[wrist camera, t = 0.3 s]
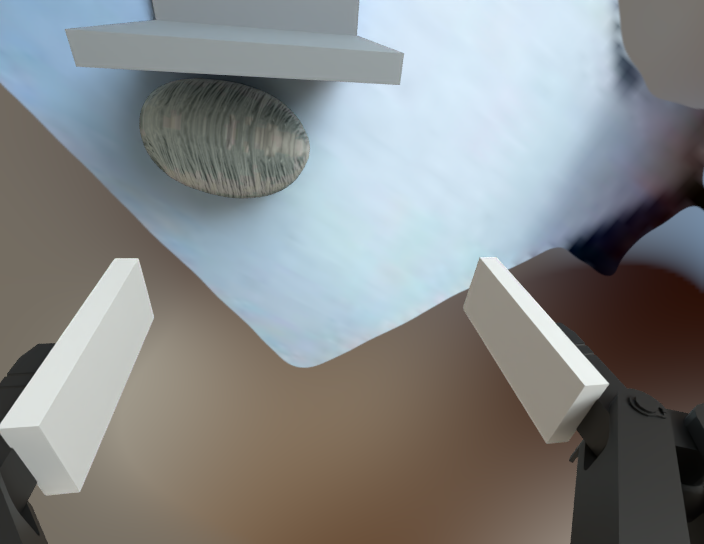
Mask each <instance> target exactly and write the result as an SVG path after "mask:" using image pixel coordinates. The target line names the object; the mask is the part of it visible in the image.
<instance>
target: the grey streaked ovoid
mask: <svg viewBox="0 0 704 544" xmlns="http://www.w3.org/2000/svg"><path fill="white" fill-rule="evenodd" d="M140 134H141V137H142V140H143V143H144V146H145V148H146V150H147V152H148V154H149V155H150V157H151V159H152V160H153V161H154V163H155V164H156V165H157V166H158V167H159V168H160V169H161V170H163V171H164V172H165V173H166V174H167V175H168V176H170V177H171V178H173V179H175V180H176V181H178V182H180V183H182V184H184V185H186V186H189V187H191V188H194V189H197V190H201V191H203V192H206V193H210V194H214V195H219V196H224V197H231V198H253V197H262V196H267V195H271V194H274V193H276V192H278V191H281V190H283V189H285V188H286V187H288V186H289V185H290V184H292V183H293V182H294V181H295V180H296V179H297V177H298V176H299V175H300V173H301V172H302V170H303V169H304V167H305V165H306V162H307V160H308V158H309V151H310V145H309V140H308V136H307V134H306V132H305V130H304V128H303V126H302V124H301V122H300V121H299V119H298V118H297V117H296V115H295V114H294V113H293V112H292V111H291V110H290V109H289V108H288V107H287V106H286V105H285V104H283V103H282V102H281V101H280V100H278V99H276V98H275V97H273V96H271V95H270V94H268V93H266V92H264V91H261V90H259V89H256V88H253V87H250V86H247V85H244V84H240V83H236V82H230V81H224V80H215V79H204V78H194V79H180V80H175V81H172V82H169V83H167V84H164V85H162V86H160V87H158V88H157V89H156V90H154V91H153V92H152V93H151V94H150V95H149V96H148V98H147V99H146V101H145V103H144V105H143V107H142V110H141V113H140Z"/></svg>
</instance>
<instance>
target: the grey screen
mask: <svg viewBox="0 0 704 544" xmlns="http://www.w3.org/2000/svg"><path fill="white" fill-rule="evenodd" d="M152 2H153V7H154V13H155V18H156V20H149V21H139V22H130V23H120V24H110V25H100V26H90V27H80V28H70V29H65V31H66V35H67V38H68V41H69V44H70V48H71V51H72V54H73V57H74V61H75V64H76V67H94V68H111V69H129V70H147V71H164V72H182V73H199V74H217V75H234V76H252V77H270V78H287V79H305V80H322V81H340V82H357V83H375V84H393V85H400V80H401V72H402V64H403V57H404V53H402V52H399V51H396V50H394V49H391V48H388V47H386V46H383V45H380V44H378V43H375V42H373V41H370V40H367V39H365V38H362V37H359V36H357V26H358V11H359V0H152Z"/></svg>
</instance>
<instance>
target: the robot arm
mask: <svg viewBox="0 0 704 544" xmlns="http://www.w3.org/2000/svg"><path fill="white" fill-rule="evenodd" d="M463 310H464V311H465V313H466V314H467V316H468V318H469V319H470V321H471V322H472V324H473V326H474V327H475V329H476V331H477V332H478V334H479V335H480V337H481V339H482V340H483V342H484V343H485V345H486V347H487V348H488V350H489V351H490V353H491V355H492V356H493V358H494V359H495V361H496V363H497V364H498V366H499V368H500V369H501V371H502V373H503V374H504V376H505V377H506V379H507V381H508V382H509V384H510V385H511V387H512V389H513V390H514V392H515V394H516V395H517V397H518V398H519V400H520V401H521V403H522V405H523V406H524V408H525V410H526V411H527V413H528V415H529V416H530V418H531V419H532V421H533V423H534V424H535V426H536V427H537V429H538V431H539V432H540V434H541V435H542V437H543V439H544V440H545V442H546V443H547V444H550V443H559V442H568V441H569V440H570V438H571V437H572V435H573V434H574V433H575V431H576V430H577V431H578V432H579V433H580V435H581V436H582V438H583V440H582V442H581V443H580V445H579V446H578V447H577V448H576V450H575V451H574V453H573V454H572V455H571V457H570V459H569V461H570V462H574V460H575V459H576V458H577V457H578V465H577V476H576V487H575V498H574V510H573V521H572V532H571V543H570V544H704V403H703V404H699V405H697V406H696V407H695V408H694V409H693V410H692V411H691V412H690V413H689V414H688V413H684V412H679V411H674V410H669V409H665V408H664V406H663V405H662V404H661V403H659V402H658V401H657V400H656V399H654V398H653V397H651V396H650V395H648V394H646V393H644V392H642V391H638V390H635V389H627V388H626V387H625V386H624V385H623V384H622V383H621V382H620V381H619V380H618V378H617V377H616V376H615V375H614V374H613V373H612V372H611V371H610V370H609V369H608V368H607V367H606V366H605V365H604V364H603V362H602V361H601V360H600V359H599V358H598V357H597V356H596V355H594V354H593V352H592V350H591V349H590V348H589V347H588V346H585V343H584V342H583V341H582V340H581V339H580V338H579V337H578V335H577V334H576V333H575V332H573V331H572V330H571V329H569V328H568V327H566V326H565V325H563V324H562V323H555V322H554V321H553V320H552V319H551V318H550V317H549V316H548V315H547V313H546V312H545V311H544V310H543V309H542V308H541V307H540V306H539V304H538V303H537V302H536V301H535V300H534V299H533V298H532V297H531V296H530V294H529V293H528V292H527V291H526V290H525V289H524V288H523V287H522V285H521V284H520V283H519V282H518V281H517V280H516V279H515V278H514V276H513V275H512V274H511V273H510V272H509V271H508V270H507V269H506V267H505V266H504V265H503V264H502V263H501V262H500V261H499V260H498V258H497V257H480V258H479V261H478V264H477V267H476V270H475V273H474V276H473V279H472V282H471V285H470V288H469V291H468V294H467V297H466V300H465V303H464V306H463ZM153 319H154V315H153V311H152V307H151V304H150V300H149V296H148V292H147V289H146V285H145V282H144V277H143V274H142V270H141V266H140V262H139V259H138V258H115V259H114V260H113V262H112V263H111V265H110V266H109V268H108V269H107V270H106V272H105V273H104V275H103V276H102V278H101V279H100V280H99V282H98V284H97V285H96V286H95V288H94V289H93V291H92V292H91V294H90V295H89V296H88V298H87V299H86V301H85V303H84V304H83V305H82V307H81V308H80V309H79V311H78V312H77V314H76V315H75V317H74V318H73V320H72V321H71V322H70V324H69V325H68V327H67V328H66V330H65V331H64V333H63V334H62V335H61V337H60V338H59V340H58V341H57V343H53V344H52V343H50V344H37V345H36V346H35V347H33V348H32V349H31V350H29V351H28V352H27V353H25V354H24V355H23V356H21V357H20V358H19V359H18V360H17V362H16V363H15V364H14V366H13V367H12V368H11V369H10V371H9V372H8V373H7V377H4V379H3V380H2V381H1V383H0V544H48V542H47V540H46V538H45V535H44V533H43V531H42V529H41V526H40V524H39V521H38V519H37V517H36V514H35V512H34V510H33V507H32V506H31V504H30V503H29V502H28V499H29V497H30V495H31V493H32V491H33V489H34V487H35V486H36V484H37V485H38V486H39V487H40V489H41V490H42V492H43V493H44V494H45V496H46V495H56V494H65V493H75V492H80V491H81V488H82V486H83V483H84V481H85V479H86V476H87V474H88V472H89V469H90V467H91V465H92V462H93V460H94V458H95V455H96V453H97V451H98V448H99V446H100V443H101V441H102V439H103V436H104V434H105V432H106V429H107V427H108V425H109V422H110V420H111V418H112V415H113V413H114V410H115V408H116V406H117V404H118V401H119V399H120V397H121V394H122V392H123V390H124V387H125V385H126V382H127V380H128V378H129V375H130V373H131V371H132V368H133V366H134V363H135V361H136V359H137V356H138V354H139V352H140V349H141V347H142V345H143V343H144V340H145V338H146V335H147V333H148V331H149V328H150V326H151V324H152V321H153Z"/></svg>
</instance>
